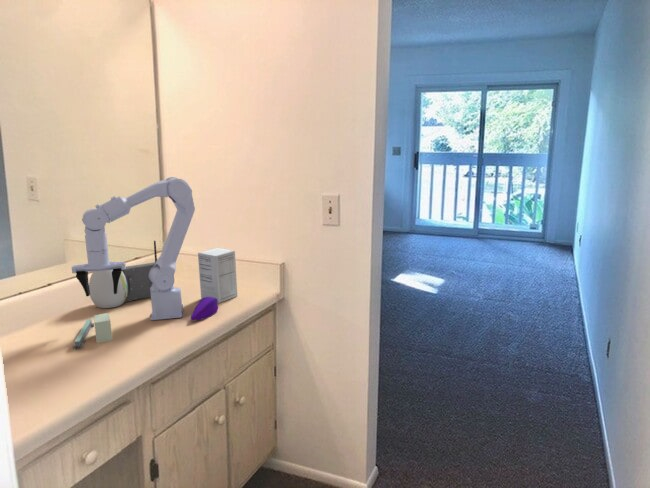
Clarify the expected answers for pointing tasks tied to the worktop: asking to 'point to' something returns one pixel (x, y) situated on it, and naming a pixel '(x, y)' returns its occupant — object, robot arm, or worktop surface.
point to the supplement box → (218, 274)
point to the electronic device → (139, 280)
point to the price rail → (83, 334)
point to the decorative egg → (107, 289)
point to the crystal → (205, 308)
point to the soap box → (103, 328)
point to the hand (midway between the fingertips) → (102, 294)
